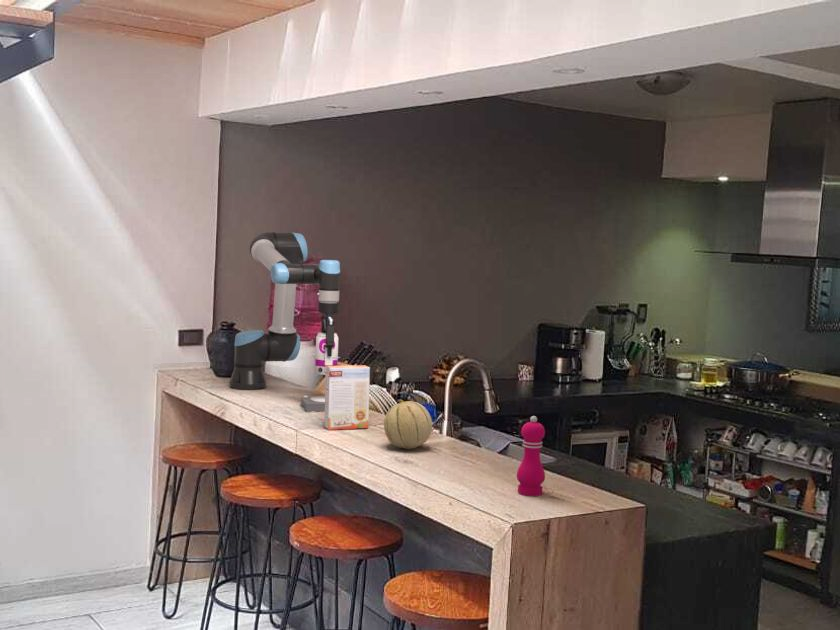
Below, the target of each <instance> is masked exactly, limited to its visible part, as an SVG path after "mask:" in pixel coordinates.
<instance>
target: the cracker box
mask: <svg viewBox="0 0 840 630" xmlns="http://www.w3.org/2000/svg"><path fill="white" fill-rule="evenodd" d="M370 372H371V367H369V366H368V365H365V364H364V365H362V364H359V365H351V364H349V365H338V366H326V372H325V375H324V376H325V380H324V382H325V383H324V384H325V385H324V396H325V412H324V422H323V423H324V428H325V429H326V430H327V431H338V429H343V430H357V429H356V428H368V429H369V414H370V413H369V411H370V410H369V409H370V408H369V407H370V378H371V377H370V374H371V373H370Z"/></svg>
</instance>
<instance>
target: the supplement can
mask: <svg viewBox="0 0 840 630" xmlns="http://www.w3.org/2000/svg"><path fill="white" fill-rule="evenodd" d="M325 345H326V333H323V332H321V331H320V332H317V334H316V337H315V357H314V359H315V361H314V362H315V364H314V373H316V374H317V375H322V376H325V372H326V366H339V365H338V364H339V362H338V361H339V336H338V333H336V332H334V346H333V363H332V365H325V347H324V346H325Z"/></svg>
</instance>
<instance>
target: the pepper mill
mask: <svg viewBox="0 0 840 630" xmlns="http://www.w3.org/2000/svg"><path fill="white" fill-rule="evenodd" d="M520 430H521V431H520V435H521V437H522V438H523V440H522V447H523V458H522V460H521V463H520V464H519V466H518V468H517V471H516V479H517V481H518V482H519V484H518V485H517V493H518V494H519V495H522V496H527V497H538V496H541V495H543V486H542V484H543V483H544V482H545V479H546V473H545V470H544V467H543V464H542V461H541V457H540V456H541V454H540V453H541V448H543V441H542V440H543V438H544V437H545V434H546V430H545V427H544V425H542V424H541V423H540V422H538V418H537V416H535V415H532V416H530V419H529V421H527V422H526V423H524V424H523V426H522V427H521V429H520Z"/></svg>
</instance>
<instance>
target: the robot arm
mask: <svg viewBox="0 0 840 630" xmlns="http://www.w3.org/2000/svg"><path fill="white" fill-rule="evenodd" d="M306 240H307V239H305V236H304V235H303V234H301V233H297V232H286V231H285V232H284V231H282V232H281V231H265V232H264V231H263V232H261V233H258V234H257V235H254V237H253V238H252V239H251V241H250V243H249V246H248V250H249V254H250V257H251V258H252V259H254V261H256V262H257V263H260V264H263V265H264V267H265V268H267V270H268V271H269V272H270V273H269V274H270V279H271V282H272V283H274V298H273V300H274V301H273V309H272V311H273V313H272V322H271V323H272V324H271V326H269V327H268V332H267V333H265V332H264V330H261V329H256V330H255V329H250V330H243V331H240V332H238V333H236V335H235V336H234V337H235V338H234V344H233V345H234V359H233V361H234V365H233V371H232V373H231V377H230V379H229V384H228V387H229V386H230V387H233V388H232V389H234V388H238V389H237V390H244V389H255V390H260V389H259V388H264V389H266V388H267V384H268V382H267V379H266V375H265V372H264V369H263V368H264V367H263V365H264V362H291V361H294V360H295V359H297V357H298V355H299V354H300V349H301V337H300V335H299V333H297V329H296V327H295V326H294V318H295V317H294V316H295V305H296V294H297V293H296V291H297V285H318V292H317V293H316V295H317V296H318V301H319V302H318V304H317V312H318V313H320V314H323V315H322V316H321V328H320V332H323V333H326V345H325V346H324V347H325V365H332V363H333V346H334V333H335V322H336V321H335V318H333V314H338V313H339V309H340V308H339V307H340V305H339V301H340V282H341V280H340V279H341V278H340V275H341V263H340V261H339V260H335V259H334V260H333V259H321V260H320V261H319V263H313V264H312V263H311V264H310V263H308V264H307V263H303V262H306V261H307V259H308V251H309V250H308V244H307V241H306ZM230 387H229V388H230ZM265 387H266V388H265Z"/></svg>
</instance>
